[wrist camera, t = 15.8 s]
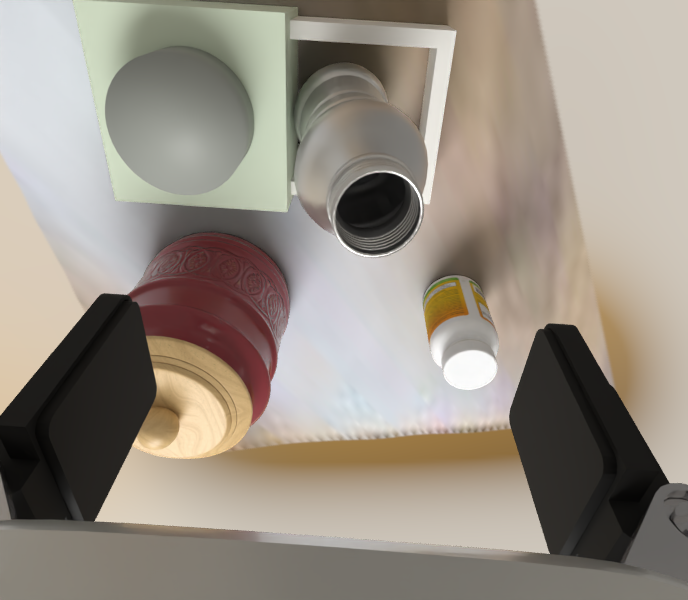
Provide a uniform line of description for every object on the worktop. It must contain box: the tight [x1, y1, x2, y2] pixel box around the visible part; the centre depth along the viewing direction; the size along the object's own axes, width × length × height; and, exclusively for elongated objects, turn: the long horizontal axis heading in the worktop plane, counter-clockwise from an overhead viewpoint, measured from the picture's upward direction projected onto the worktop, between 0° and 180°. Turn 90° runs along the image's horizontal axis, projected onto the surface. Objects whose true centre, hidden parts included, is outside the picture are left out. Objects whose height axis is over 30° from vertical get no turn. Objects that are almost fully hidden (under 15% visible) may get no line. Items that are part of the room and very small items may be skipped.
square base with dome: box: [73, 0, 457, 212], centre depth 32 cm, size 12×22×9 cm, turn 87°
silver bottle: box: [294, 62, 428, 258], centre depth 27 cm, size 6×7×20 cm
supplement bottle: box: [423, 275, 499, 390], centre depth 41 cm, size 5×5×10 cm
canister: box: [127, 232, 290, 459], centre depth 38 cm, size 13×13×18 cm
